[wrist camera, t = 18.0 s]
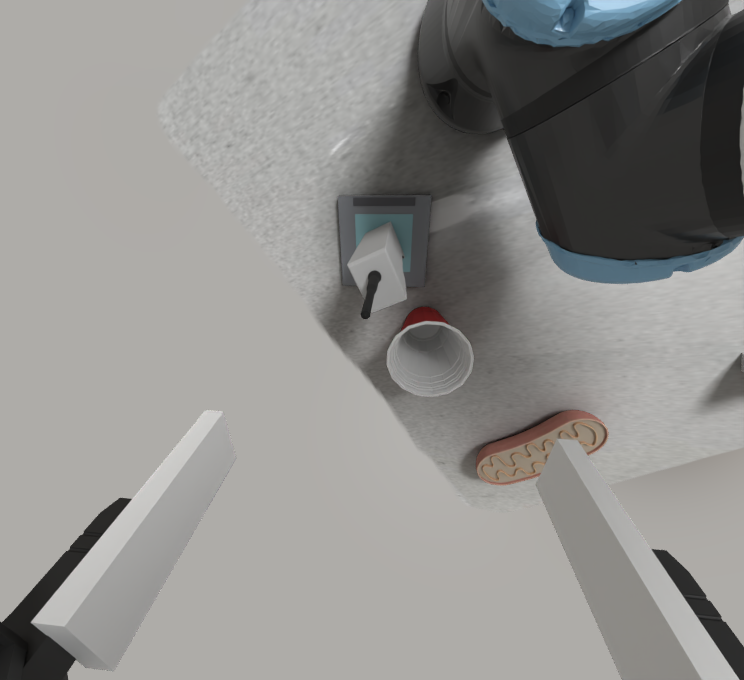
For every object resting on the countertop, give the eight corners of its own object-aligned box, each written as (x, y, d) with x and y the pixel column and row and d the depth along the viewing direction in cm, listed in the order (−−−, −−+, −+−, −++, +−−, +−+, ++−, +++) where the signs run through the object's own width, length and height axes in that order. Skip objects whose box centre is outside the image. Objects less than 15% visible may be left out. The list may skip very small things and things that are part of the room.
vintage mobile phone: (380, 266, 43) (360, 362, 21) (365, 232, 41) (325, 300, 19) (404, 255, 42) (410, 345, 20) (390, 220, 40) (379, 277, 18)
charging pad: (339, 195, 40) (337, 195, 39) (430, 194, 39) (431, 195, 38) (344, 282, 46) (342, 285, 45) (423, 284, 45) (424, 287, 44)
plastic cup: (438, 275, 44) (451, 307, 34) (469, 332, 48) (488, 377, 38) (376, 310, 47) (369, 349, 37) (409, 360, 51) (411, 408, 41)
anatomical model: (579, 390, 52) (596, 410, 47) (601, 425, 55) (619, 447, 51) (462, 443, 60) (467, 465, 56) (487, 471, 63) (494, 493, 59)
